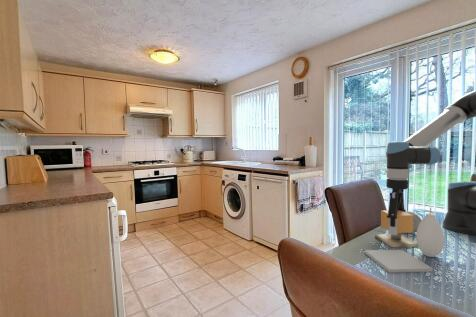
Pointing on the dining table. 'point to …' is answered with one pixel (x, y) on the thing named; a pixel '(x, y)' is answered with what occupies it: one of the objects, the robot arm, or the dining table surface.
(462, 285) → the dining table surface
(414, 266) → the mat
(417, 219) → the donut
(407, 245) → the post stand
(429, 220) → the white egg shape
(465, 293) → the dining table surface
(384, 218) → the orange block
